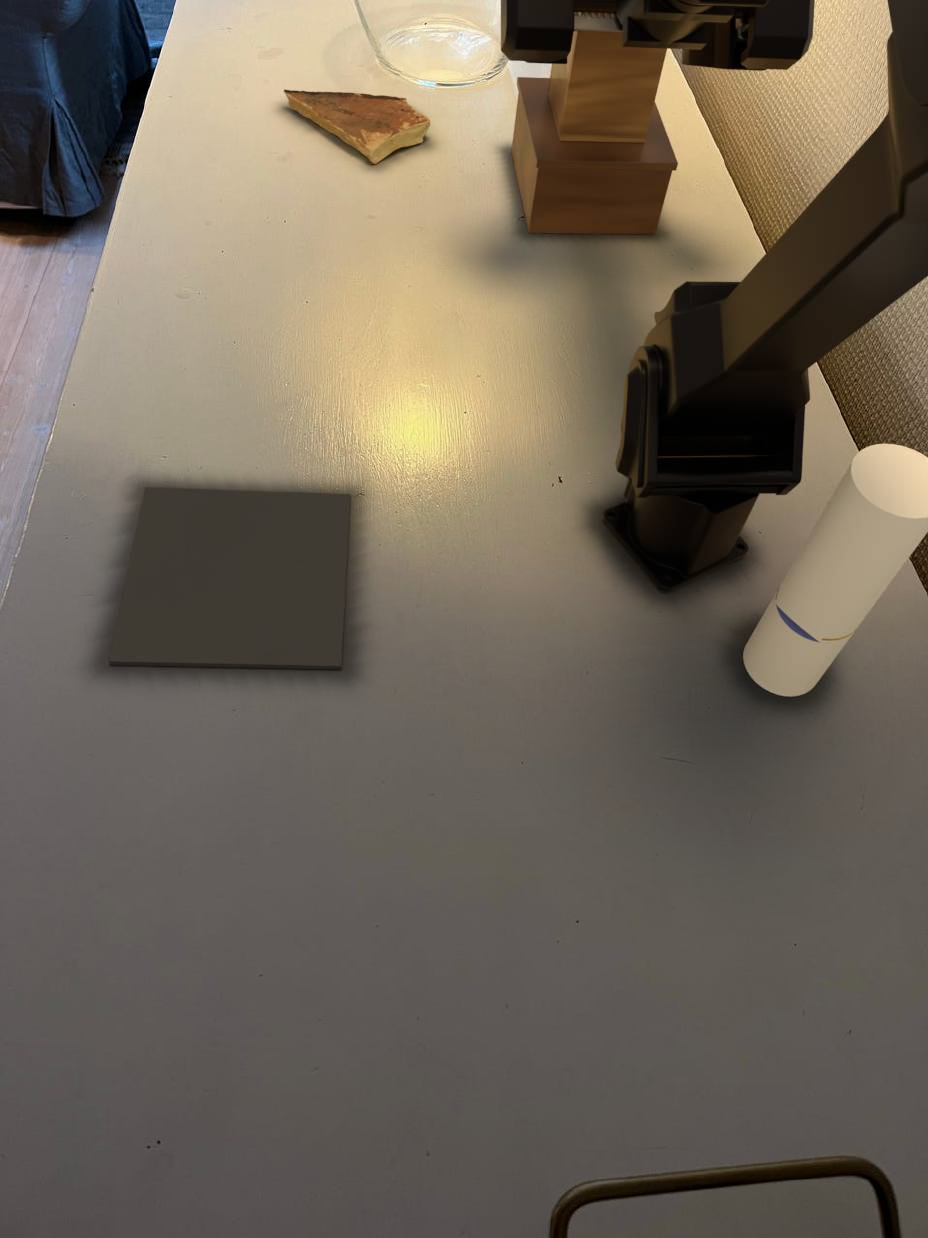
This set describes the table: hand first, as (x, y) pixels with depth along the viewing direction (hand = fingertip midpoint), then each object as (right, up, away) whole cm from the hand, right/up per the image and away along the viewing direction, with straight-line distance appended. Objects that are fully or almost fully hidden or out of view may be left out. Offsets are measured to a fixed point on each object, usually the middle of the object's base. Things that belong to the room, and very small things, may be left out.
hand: (619, 53), depth 67 cm
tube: (+7, -41, -12) cm, 43 cm away
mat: (-23, -36, -12) cm, 45 cm away
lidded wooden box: (-1, -4, +12) cm, 12 cm away
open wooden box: (-1, -1, +7) cm, 7 cm away
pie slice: (-19, +1, +14) cm, 24 cm away
